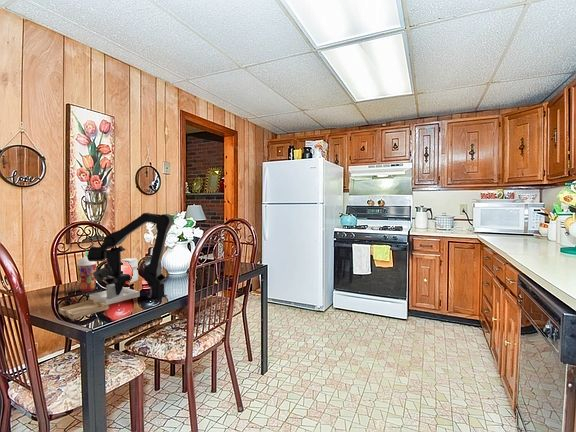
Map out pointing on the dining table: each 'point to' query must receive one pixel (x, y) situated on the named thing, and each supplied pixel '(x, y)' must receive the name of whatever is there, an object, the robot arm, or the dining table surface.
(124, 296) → the bin
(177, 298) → the dining table surface
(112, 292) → the stone block
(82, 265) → the smoothie
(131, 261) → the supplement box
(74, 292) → the dining table surface
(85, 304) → the oak tray
